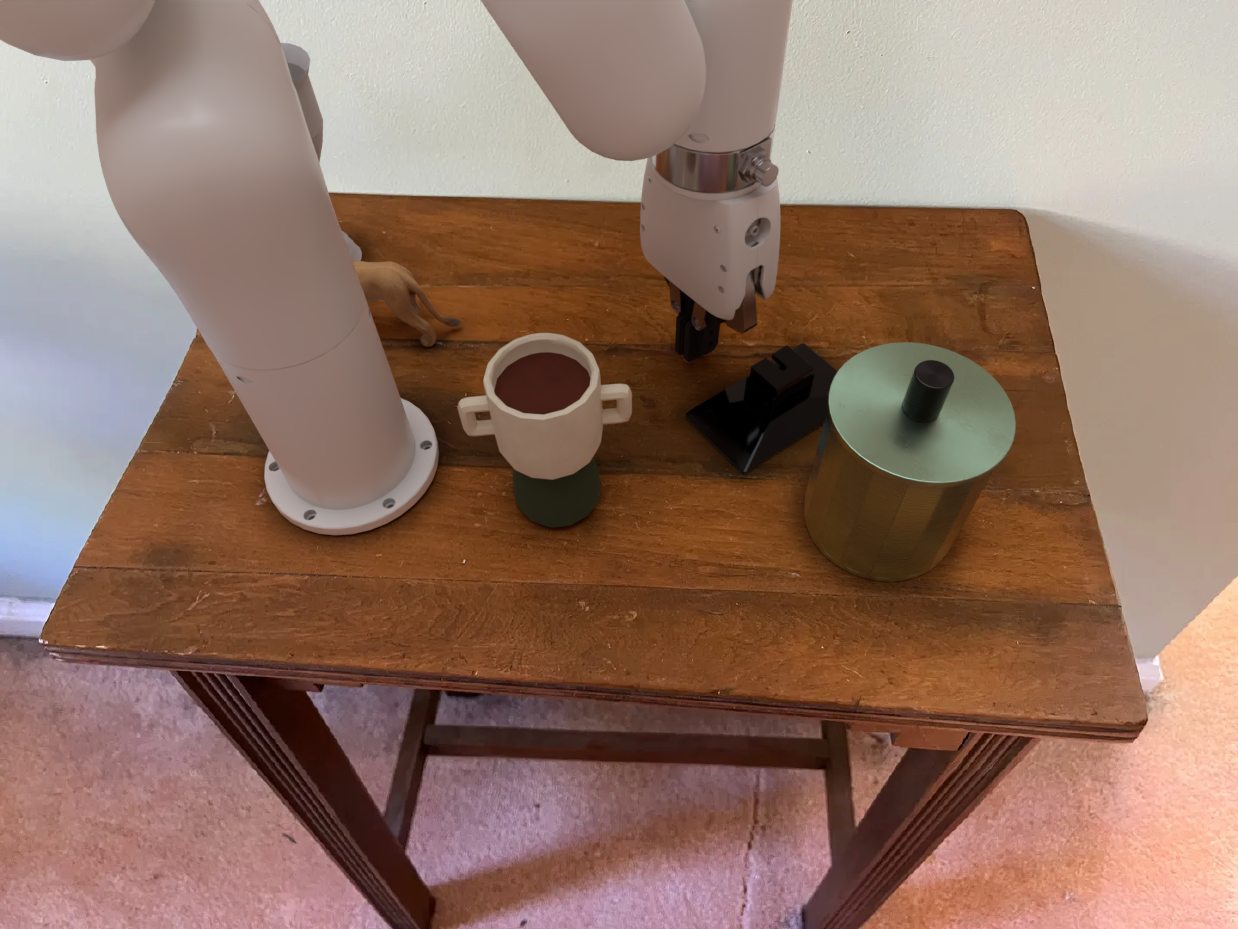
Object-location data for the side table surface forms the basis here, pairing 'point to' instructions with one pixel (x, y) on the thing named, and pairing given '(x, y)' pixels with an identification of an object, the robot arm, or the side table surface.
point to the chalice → (311, 111)
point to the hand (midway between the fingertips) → (696, 349)
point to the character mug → (548, 423)
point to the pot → (880, 515)
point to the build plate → (767, 407)
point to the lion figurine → (399, 295)
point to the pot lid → (921, 414)
